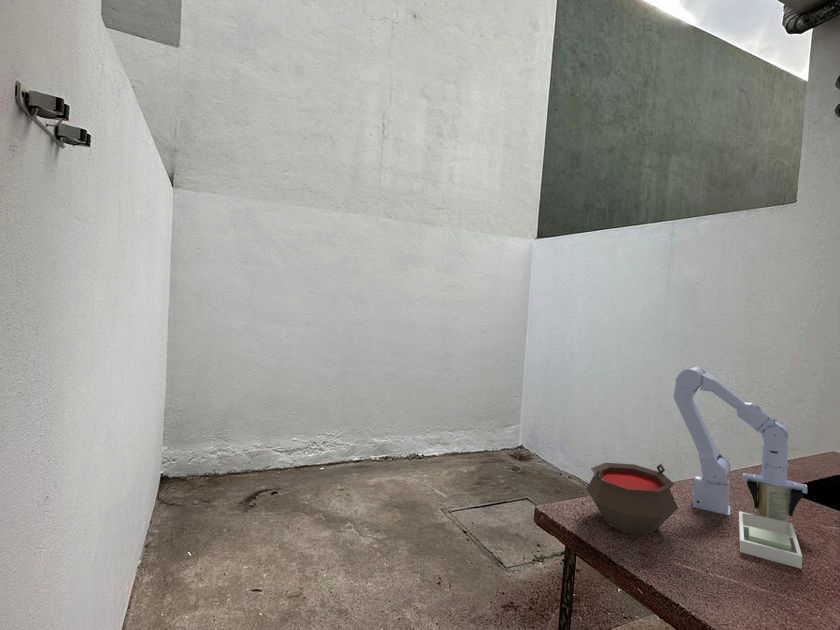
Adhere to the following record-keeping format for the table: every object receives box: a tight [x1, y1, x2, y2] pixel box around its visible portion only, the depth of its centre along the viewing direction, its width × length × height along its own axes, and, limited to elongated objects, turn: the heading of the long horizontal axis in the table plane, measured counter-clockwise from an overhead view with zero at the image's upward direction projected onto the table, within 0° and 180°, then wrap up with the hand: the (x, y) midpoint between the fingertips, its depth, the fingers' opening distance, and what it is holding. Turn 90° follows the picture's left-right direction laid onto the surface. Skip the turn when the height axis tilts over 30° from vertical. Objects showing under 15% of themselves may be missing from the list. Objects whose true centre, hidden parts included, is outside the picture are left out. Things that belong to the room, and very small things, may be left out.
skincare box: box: [756, 482, 790, 523], centre depth 129 cm, size 6×4×12 cm
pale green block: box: [749, 526, 791, 552], centre depth 114 cm, size 8×6×4 cm
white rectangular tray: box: [738, 510, 803, 570], centre depth 118 cm, size 12×20×4 cm, turn 145°
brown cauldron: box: [586, 462, 679, 536], centre depth 129 cm, size 24×24×16 cm
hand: (772, 511), depth 129 cm, fingers open, 7 cm apart
